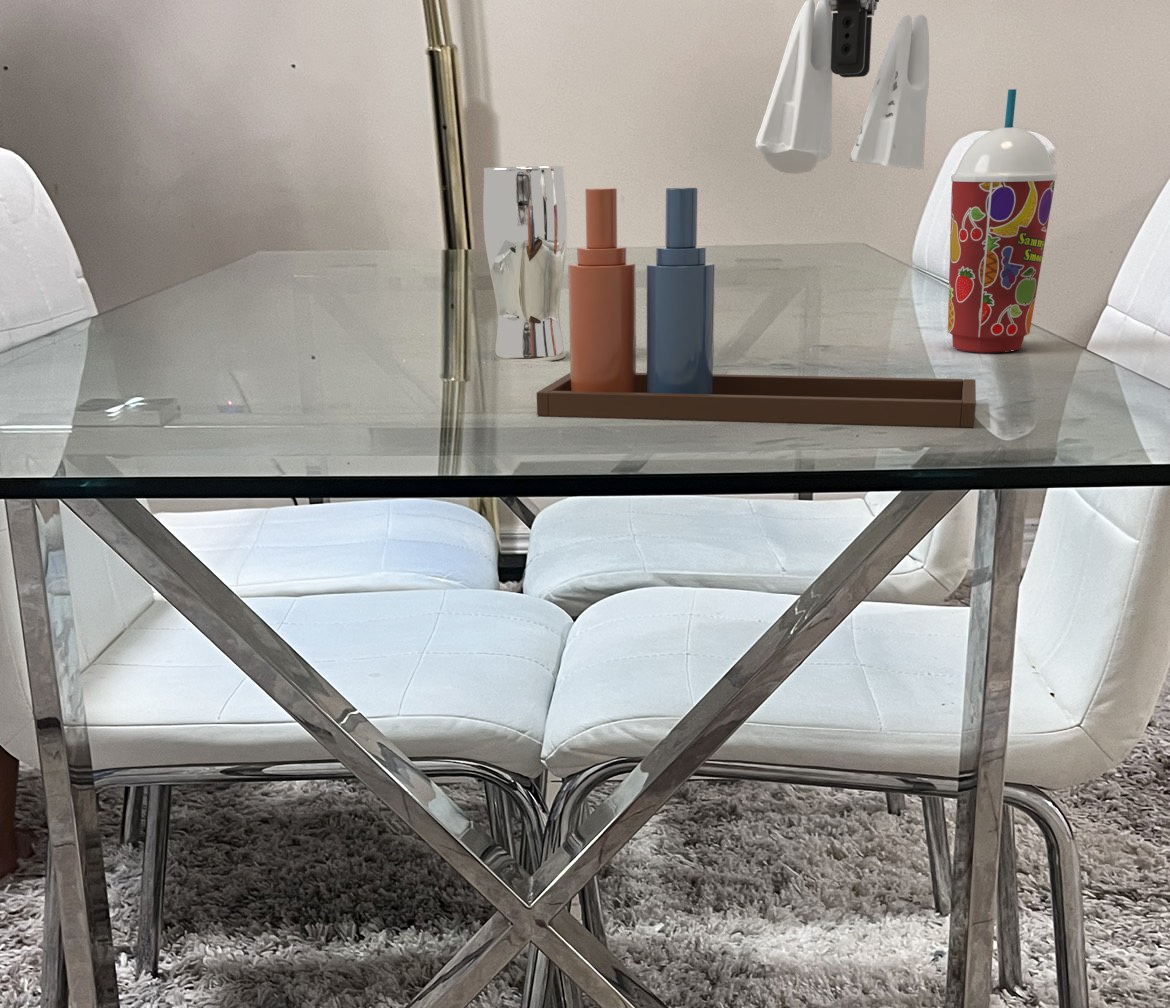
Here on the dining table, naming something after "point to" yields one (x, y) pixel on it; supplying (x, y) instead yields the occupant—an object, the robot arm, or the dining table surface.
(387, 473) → the dining table surface
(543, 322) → the beer glass
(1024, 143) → the smoothie
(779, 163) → the shaker set
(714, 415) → the tray
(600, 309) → the terracotta bottle
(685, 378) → the slate-blue bottle
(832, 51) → the robot arm
